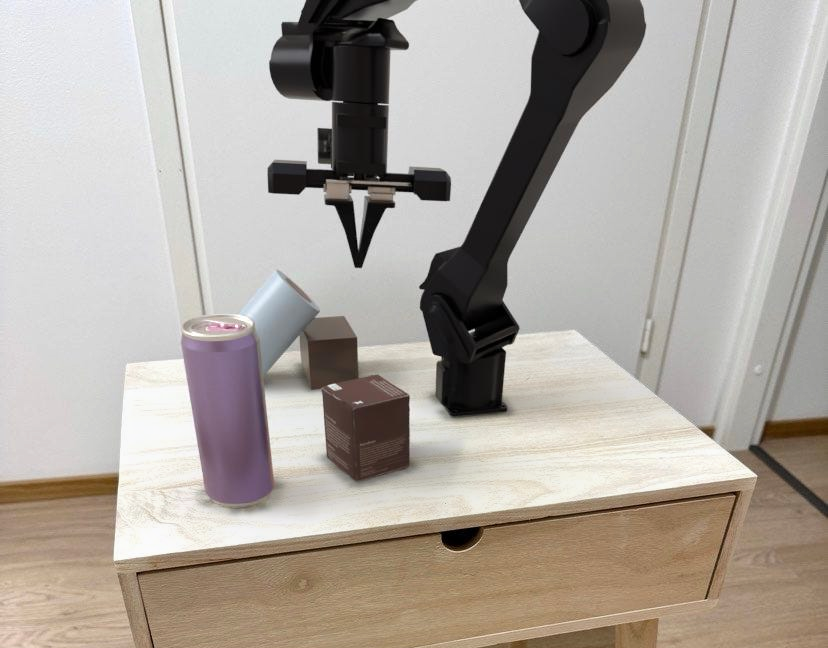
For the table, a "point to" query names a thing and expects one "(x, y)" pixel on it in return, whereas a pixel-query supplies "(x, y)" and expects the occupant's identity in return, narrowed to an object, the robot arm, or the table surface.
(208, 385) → the beverage can
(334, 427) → the box
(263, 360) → the light blue cylinder
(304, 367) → the walnut block
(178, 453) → the table surface
